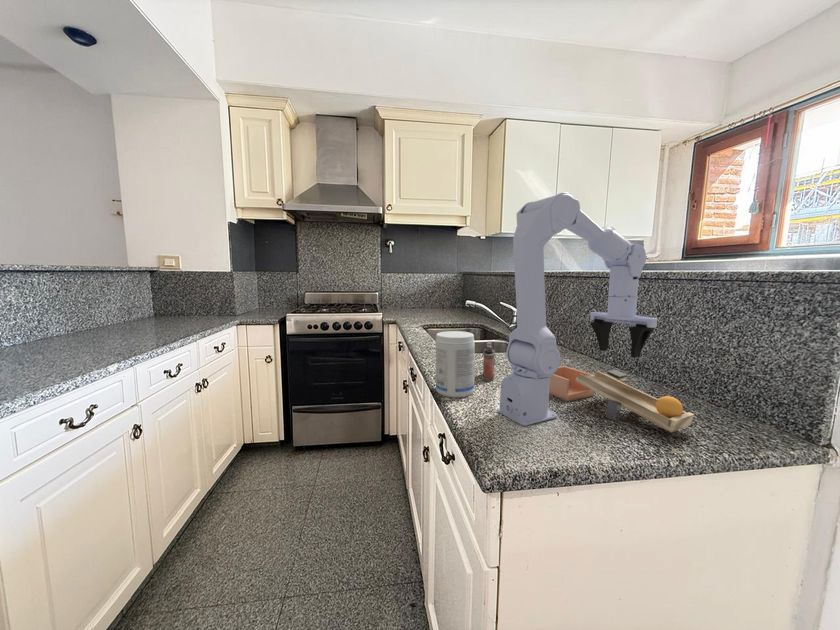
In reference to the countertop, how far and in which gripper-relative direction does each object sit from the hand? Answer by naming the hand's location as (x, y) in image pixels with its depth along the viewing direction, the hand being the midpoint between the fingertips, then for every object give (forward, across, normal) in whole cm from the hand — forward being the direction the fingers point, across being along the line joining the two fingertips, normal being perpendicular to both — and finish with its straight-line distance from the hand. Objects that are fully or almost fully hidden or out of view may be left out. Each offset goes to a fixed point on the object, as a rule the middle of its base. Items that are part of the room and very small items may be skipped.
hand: (618, 353), depth 77 cm
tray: (+10, +7, +9) cm, 15 cm away
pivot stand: (+10, -8, +9) cm, 16 cm away
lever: (+7, -8, +5) cm, 12 cm away
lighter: (+10, +25, +19) cm, 33 cm away
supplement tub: (+10, +19, +34) cm, 40 cm away
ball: (+6, -15, +9) cm, 19 cm away
